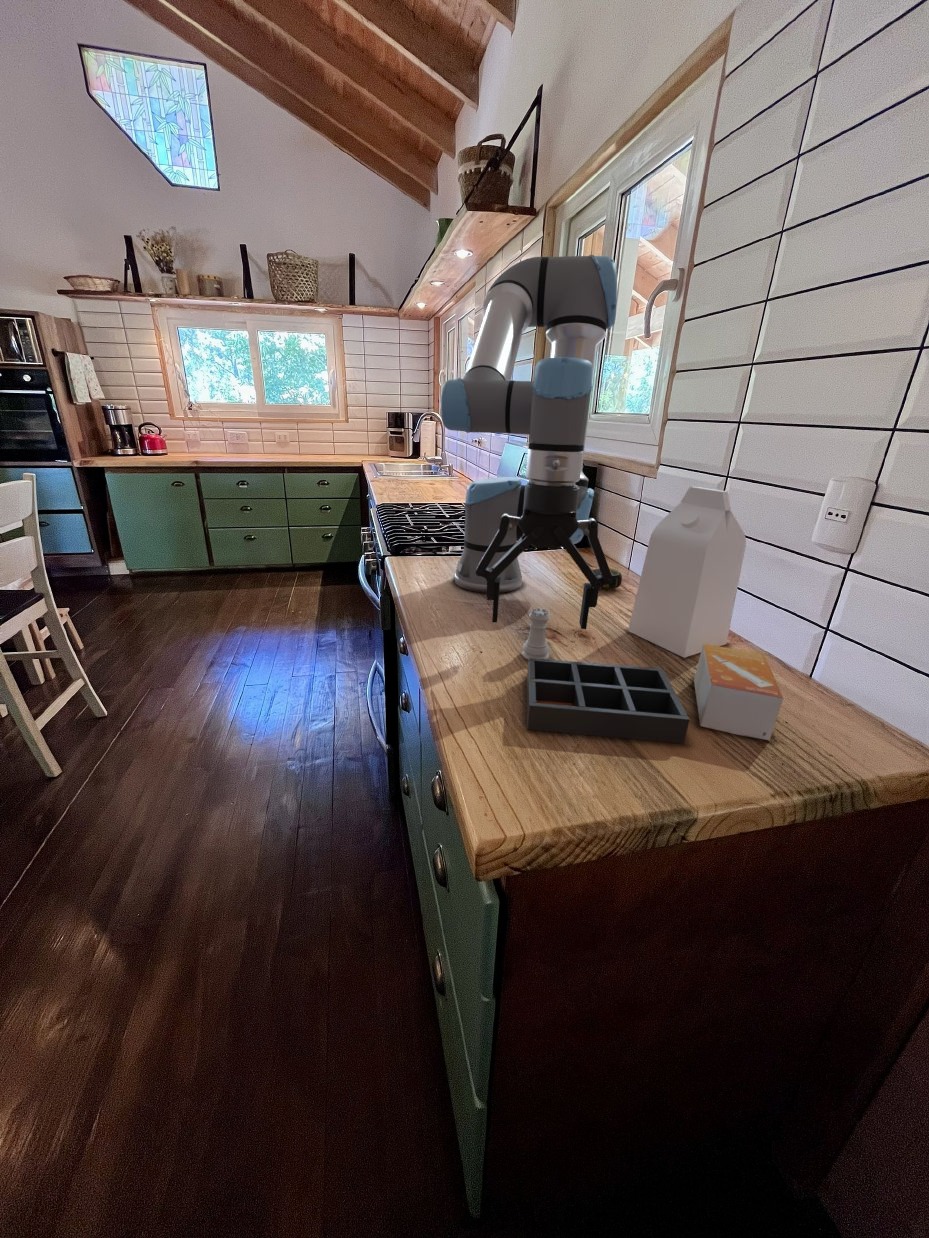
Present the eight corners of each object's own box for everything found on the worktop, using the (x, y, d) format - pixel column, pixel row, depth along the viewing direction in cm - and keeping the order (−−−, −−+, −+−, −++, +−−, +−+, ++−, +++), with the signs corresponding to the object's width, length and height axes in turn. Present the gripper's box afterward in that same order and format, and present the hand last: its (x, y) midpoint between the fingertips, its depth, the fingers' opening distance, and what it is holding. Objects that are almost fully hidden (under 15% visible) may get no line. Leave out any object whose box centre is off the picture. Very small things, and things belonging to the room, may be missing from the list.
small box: (764, 652, 70) (785, 698, 58) (752, 691, 72) (770, 742, 61) (701, 642, 72) (710, 684, 61) (692, 680, 75) (699, 727, 63)
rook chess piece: (548, 664, 78) (553, 617, 75) (520, 661, 78) (524, 614, 75) (549, 652, 82) (554, 606, 79) (522, 649, 82) (526, 604, 79)
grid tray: (526, 678, 73) (528, 657, 72) (657, 689, 72) (662, 668, 70) (527, 729, 61) (529, 705, 60) (684, 744, 60) (690, 719, 58)
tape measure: (587, 581, 117) (589, 566, 116) (617, 583, 117) (619, 568, 115) (591, 591, 111) (593, 575, 110) (622, 593, 110) (625, 577, 109)
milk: (726, 644, 87) (766, 492, 77) (684, 657, 81) (720, 496, 71) (669, 620, 96) (697, 482, 86) (627, 630, 91) (653, 485, 81)
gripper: (460, 481, 67) (456, 625, 75) (650, 490, 65) (624, 638, 73) (466, 475, 74) (461, 608, 82) (637, 483, 72) (615, 619, 80)
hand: (538, 622), depth 77 cm, fingers open, 13 cm apart
